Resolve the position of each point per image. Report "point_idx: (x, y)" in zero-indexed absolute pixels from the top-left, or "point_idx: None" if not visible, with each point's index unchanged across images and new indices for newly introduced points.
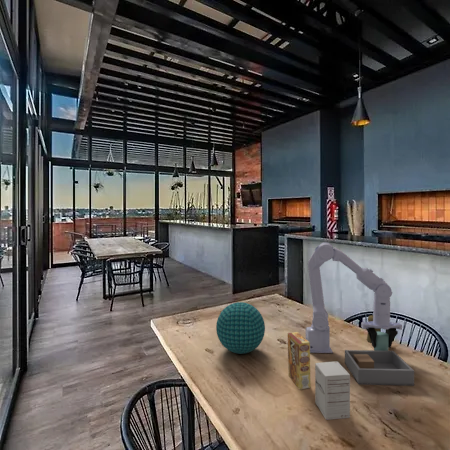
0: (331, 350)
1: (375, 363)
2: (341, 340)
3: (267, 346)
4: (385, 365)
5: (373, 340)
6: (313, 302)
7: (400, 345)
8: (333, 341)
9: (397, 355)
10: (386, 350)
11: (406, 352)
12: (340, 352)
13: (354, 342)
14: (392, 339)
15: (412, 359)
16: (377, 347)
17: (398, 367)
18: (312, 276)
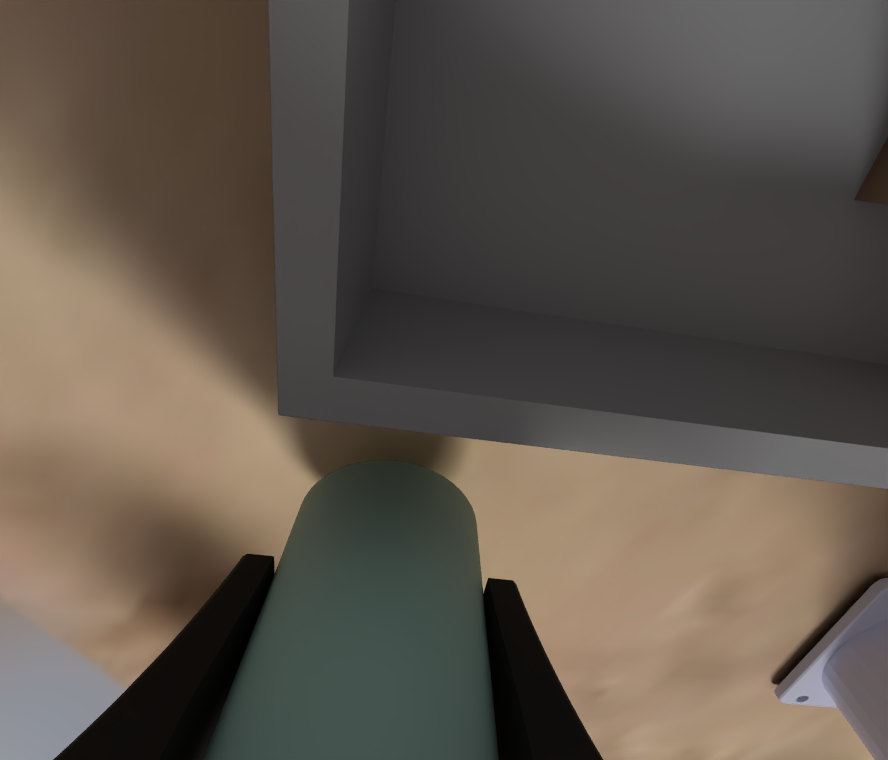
0: (874, 609)
1: (625, 312)
2: (588, 723)
3: None
4: (517, 239)
5: (577, 720)
6: None
7: (66, 634)
8: (670, 717)
9: (302, 157)
10: (345, 509)
11: (44, 526)
12: (778, 580)
13: None
14: (121, 727)
15: (16, 384)
16: (471, 574)
17: (384, 50)
18: None
